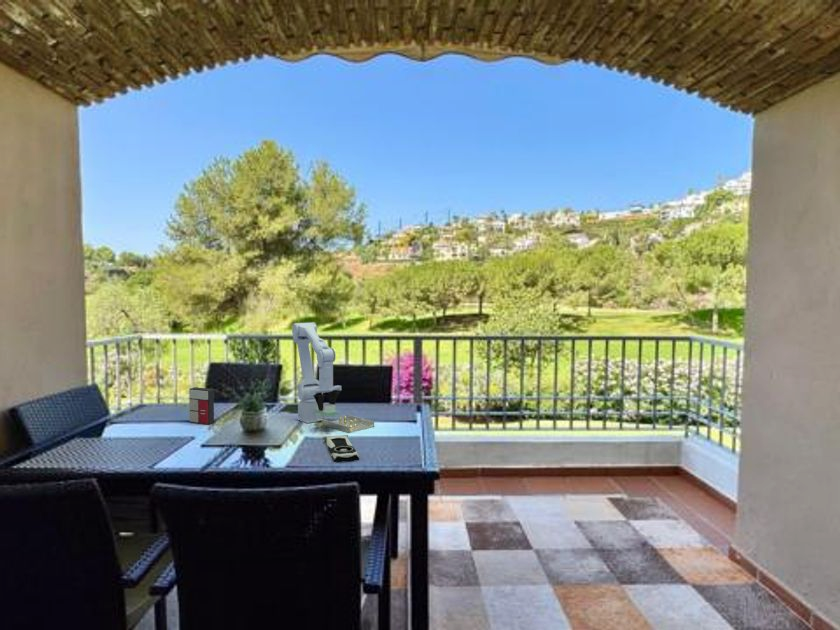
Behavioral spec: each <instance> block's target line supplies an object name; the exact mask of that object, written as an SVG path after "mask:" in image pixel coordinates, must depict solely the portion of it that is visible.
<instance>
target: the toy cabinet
mask: <svg viewBox="0 0 840 630" xmlns="http://www.w3.org/2000/svg"><path fill="white" fill-rule="evenodd" d="M188 392H189V396H188V397H189V400H188V401H189V402H188V403H189V408H188V409H189V423H195V424H201V425H212V424H214V423H215V401H214V400H215V392H216V390H215V389H214V388H206V387H198V386H197V387H191V388H189V390H188Z"/></svg>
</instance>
